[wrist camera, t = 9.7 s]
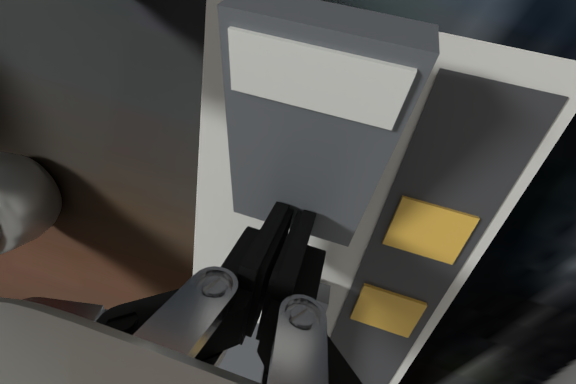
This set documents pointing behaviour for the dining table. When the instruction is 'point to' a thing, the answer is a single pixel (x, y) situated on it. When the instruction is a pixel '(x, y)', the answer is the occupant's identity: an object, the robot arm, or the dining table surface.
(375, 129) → the switch
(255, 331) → the switch
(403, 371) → the switch unit
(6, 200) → the plastic bottle
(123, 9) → the dining table surface
